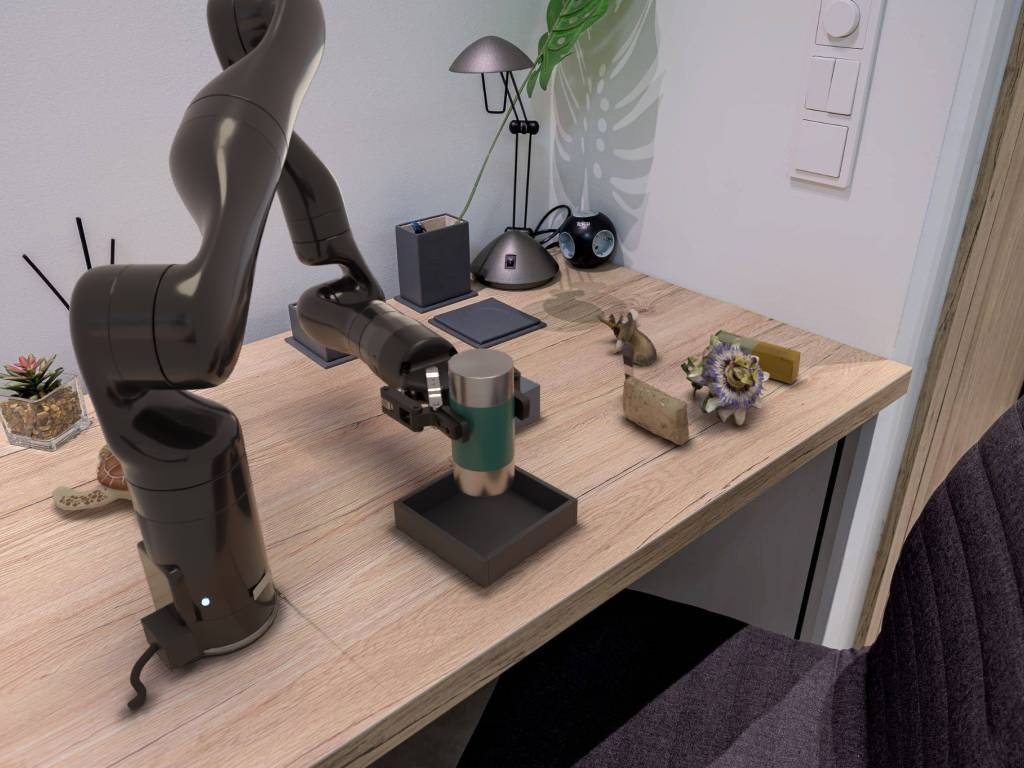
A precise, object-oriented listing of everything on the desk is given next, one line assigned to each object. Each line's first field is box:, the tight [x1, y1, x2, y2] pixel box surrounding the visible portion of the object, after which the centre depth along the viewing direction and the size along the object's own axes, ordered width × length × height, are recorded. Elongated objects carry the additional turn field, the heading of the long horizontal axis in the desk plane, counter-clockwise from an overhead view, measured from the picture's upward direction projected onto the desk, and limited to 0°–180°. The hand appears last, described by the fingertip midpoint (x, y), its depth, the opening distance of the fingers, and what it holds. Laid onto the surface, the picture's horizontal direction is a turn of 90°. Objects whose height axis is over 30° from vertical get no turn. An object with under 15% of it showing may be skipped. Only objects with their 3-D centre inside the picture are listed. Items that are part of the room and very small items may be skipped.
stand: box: [443, 375, 541, 431], centre depth 102 cm, size 9×9×5 cm
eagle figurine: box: [596, 308, 658, 367], centre depth 118 cm, size 8×7×9 cm
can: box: [448, 348, 516, 497], centre depth 78 cm, size 6×6×13 cm
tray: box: [392, 464, 579, 589], centre depth 84 cm, size 13×13×4 cm
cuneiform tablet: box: [621, 353, 690, 446], centre depth 100 cm, size 7×4×12 cm
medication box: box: [713, 329, 802, 385], centre depth 113 cm, size 12×3×4 cm, turn 50°
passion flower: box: [680, 334, 770, 427], centre depth 103 cm, size 11×11×12 cm
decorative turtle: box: [52, 444, 132, 511], centre depth 91 cm, size 18×17×5 cm
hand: (496, 422), depth 76 cm, fingers closed on can, 6 cm apart
